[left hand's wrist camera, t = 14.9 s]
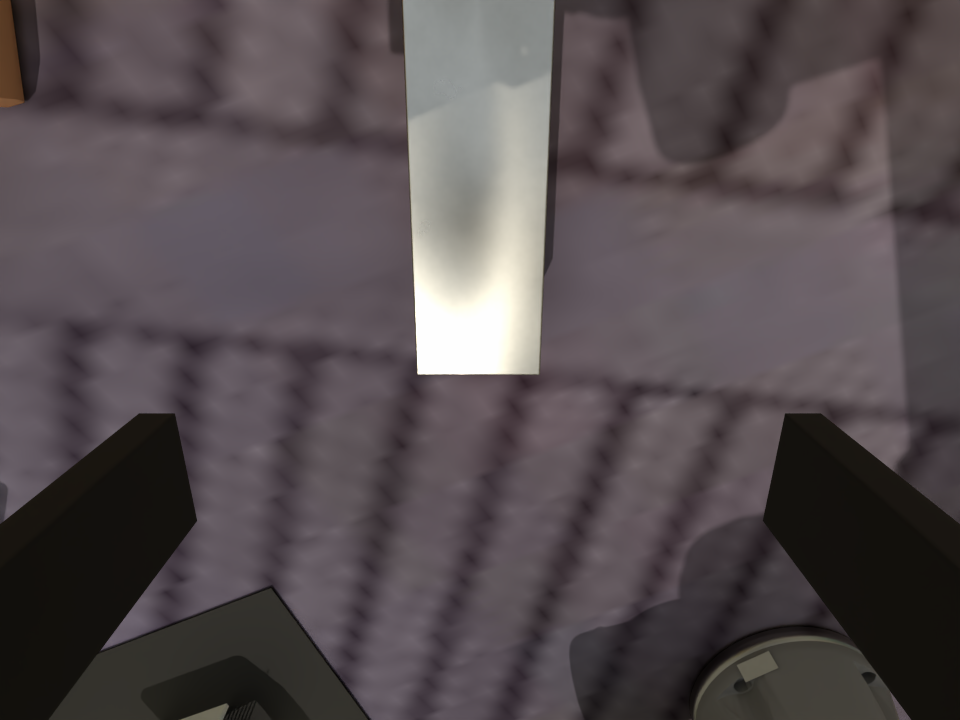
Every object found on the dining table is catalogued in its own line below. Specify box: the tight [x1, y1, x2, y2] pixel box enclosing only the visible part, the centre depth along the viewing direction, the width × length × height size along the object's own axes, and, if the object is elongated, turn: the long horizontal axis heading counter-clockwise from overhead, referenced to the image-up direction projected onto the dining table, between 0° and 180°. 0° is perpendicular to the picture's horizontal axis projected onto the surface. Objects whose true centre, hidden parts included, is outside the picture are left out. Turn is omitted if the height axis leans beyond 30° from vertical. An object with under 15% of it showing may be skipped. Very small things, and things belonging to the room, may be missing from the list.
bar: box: [402, 0, 555, 375], centre depth 26 cm, size 32×6×10 cm, turn 0°
